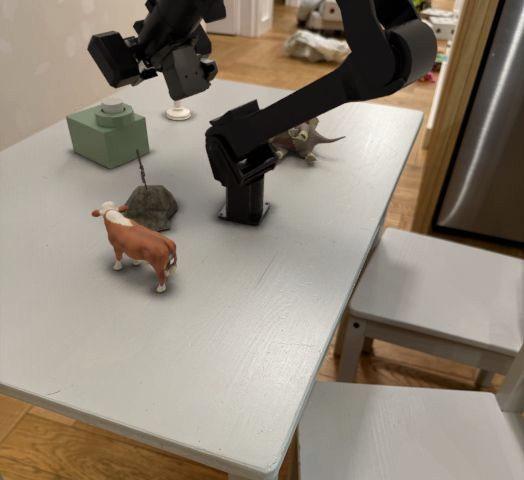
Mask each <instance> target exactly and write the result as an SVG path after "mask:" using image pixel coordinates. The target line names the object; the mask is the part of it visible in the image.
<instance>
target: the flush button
mask: <svg viewBox="0 0 524 480" xmlns="http://www.w3.org/2000/svg"><path fill="white" fill-rule="evenodd" d="M123 103H124V101H123V99H122V98H120V97H115V96H113V97H105V98H103V99H102V100H101V104H102V108H103V113H105V114H119V113H122V112H124V107H123Z"/></svg>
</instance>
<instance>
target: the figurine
mask: <svg viewBox="0 0 524 480" xmlns="http://www.w3.org/2000/svg"><path fill="white" fill-rule="evenodd" d="M319 123H320V120H319V119H318V116H317V117H315V118H313V119H311V120H309V121H307V122H305V123H303V124H300V125H298V126H296V127H294V128H292V129H290V130H288V131H286V132H283V133H281V134H279V135H277V136H276V137H275V138H274V139H273V140H272V142H271V143H270V144H271V145H272V147H273V148H274V149H276V151H275V152H276V154H277V156H278V158H279V160H282V159H283V157H285V156H286V155H287V154H288V153H289V151H293V152H298V153H297V154H298V155H299V157H301V158H305V159H304V161H305V162H304V164H310V163H313V162H318V159H316V158H317V156H316V155H315V153H312V151H313V150H314V149H315V147H316V146H317V145H320V144H321V145H322V144H333V143H335V142H337V141H341V140H343V139H345V138H347V136H345V135H344V136H340V137H336V138H328V137H326V136H323V135H322V134H320V133H319V131H317V130H316V128H317V127H318V126H319V125H318V124H319Z"/></svg>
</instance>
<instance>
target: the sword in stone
mask: <svg viewBox="0 0 524 480" xmlns="http://www.w3.org/2000/svg"><path fill="white" fill-rule="evenodd" d="M136 153H137V156H138V158H137V160H138V165H139V170H140V171H139V172H140V178H141V181H142V184H144V185H138V186H137V187H136V188H135V189H134V190H133V191H132V193H131V194H130V196H129V197H128V199H127V200H126V201H125V203H124V204H123V206H127V207H128V211H127V212H123V216H124V217H126V218H129V219H132V220H134V221H135V222H136V223H138V224H139V225H142V226H144V227H146V228H148V229H150V230H152V231H156V232H160V231H163V230H167V229H171V223H170V221H169V220H170V219H169V218H170V217H172V215H173V214H174V213H175V212H176V211H177V210H178V208H179V206H178V203H177V200H176V197H175V196H174V194H173V192H171V191H170V190H169V189H167V188H166V187H165V186H164V185H162V184H150V185H149V184H148V185H147V182H146V172H145V168H144V167H145V166H144V165H143V163H142V159H141V156H140V154H139V150H138V148H136Z"/></svg>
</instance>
